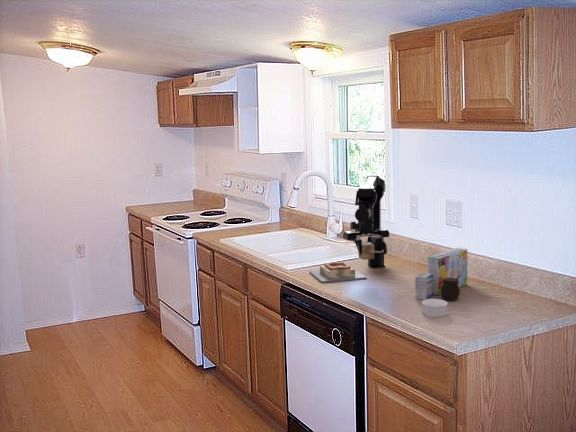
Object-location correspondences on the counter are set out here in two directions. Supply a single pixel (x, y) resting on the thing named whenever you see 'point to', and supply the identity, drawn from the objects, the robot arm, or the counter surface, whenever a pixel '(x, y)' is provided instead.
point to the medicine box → (424, 286)
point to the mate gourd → (450, 289)
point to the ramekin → (434, 307)
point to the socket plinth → (337, 270)
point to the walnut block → (367, 251)
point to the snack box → (448, 267)
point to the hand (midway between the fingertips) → (366, 254)
